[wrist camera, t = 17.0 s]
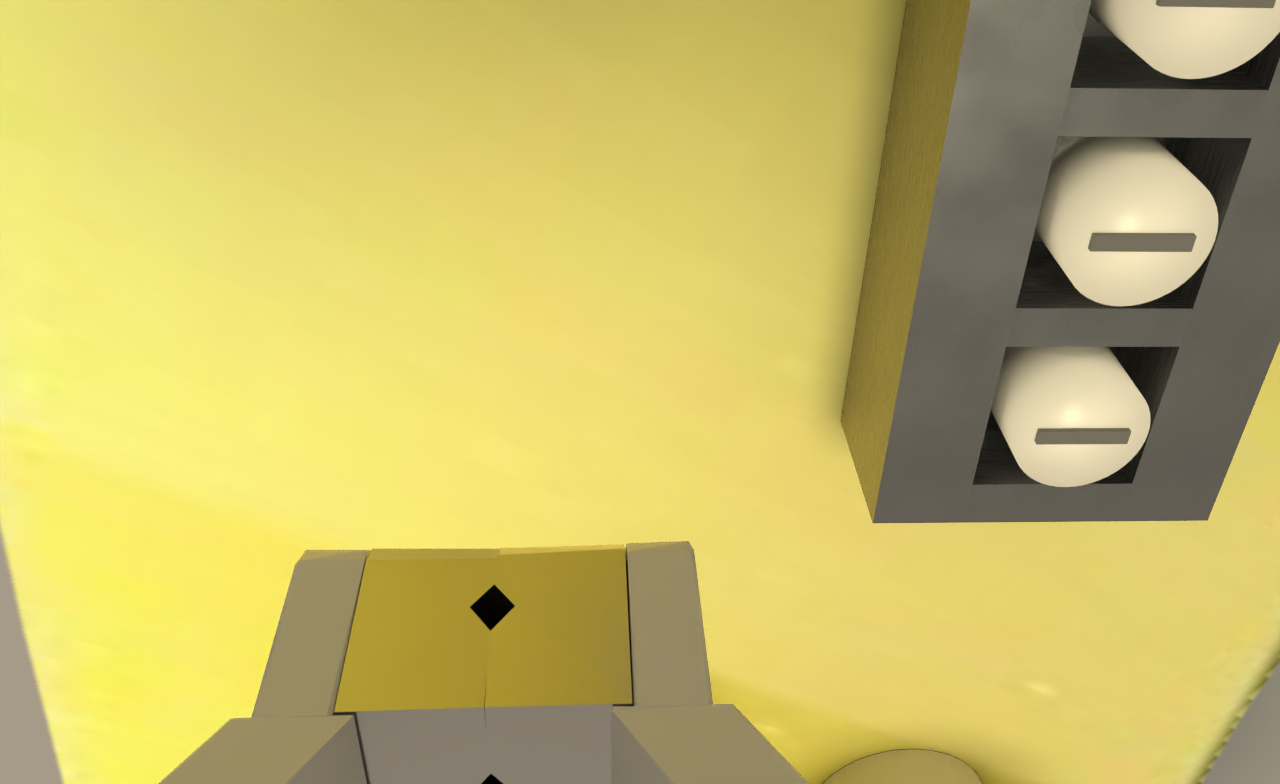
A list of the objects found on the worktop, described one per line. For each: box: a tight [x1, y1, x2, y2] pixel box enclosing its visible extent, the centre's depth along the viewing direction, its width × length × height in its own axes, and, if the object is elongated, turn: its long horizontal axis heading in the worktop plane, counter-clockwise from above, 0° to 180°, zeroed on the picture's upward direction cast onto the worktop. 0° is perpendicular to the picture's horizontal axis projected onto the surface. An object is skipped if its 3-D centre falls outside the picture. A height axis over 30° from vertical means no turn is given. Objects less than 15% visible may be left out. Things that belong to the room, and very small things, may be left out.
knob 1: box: [991, 347, 1151, 487], centre depth 40 cm, size 4×4×5 cm
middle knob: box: [1035, 136, 1218, 306], centre depth 36 cm, size 4×4×5 cm
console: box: [841, 0, 1280, 523], centre depth 37 cm, size 12×23×6 cm, turn 178°
